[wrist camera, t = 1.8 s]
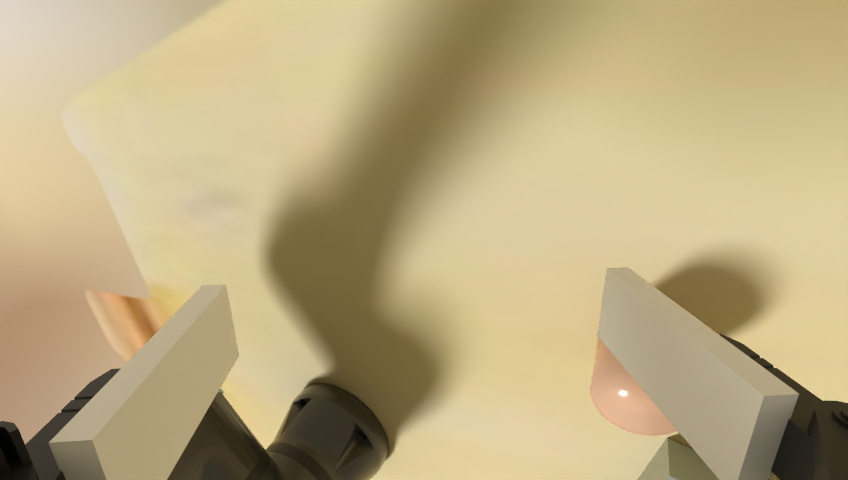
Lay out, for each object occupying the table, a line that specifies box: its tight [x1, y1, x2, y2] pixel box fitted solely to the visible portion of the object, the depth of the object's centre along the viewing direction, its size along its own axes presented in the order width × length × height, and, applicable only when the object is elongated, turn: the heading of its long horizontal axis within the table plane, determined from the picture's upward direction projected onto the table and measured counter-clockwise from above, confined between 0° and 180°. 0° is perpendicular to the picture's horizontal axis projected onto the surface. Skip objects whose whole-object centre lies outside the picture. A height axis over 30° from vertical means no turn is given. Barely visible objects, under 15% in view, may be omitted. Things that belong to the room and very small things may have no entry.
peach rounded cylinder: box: [590, 337, 677, 436], centre depth 32 cm, size 6×6×7 cm
